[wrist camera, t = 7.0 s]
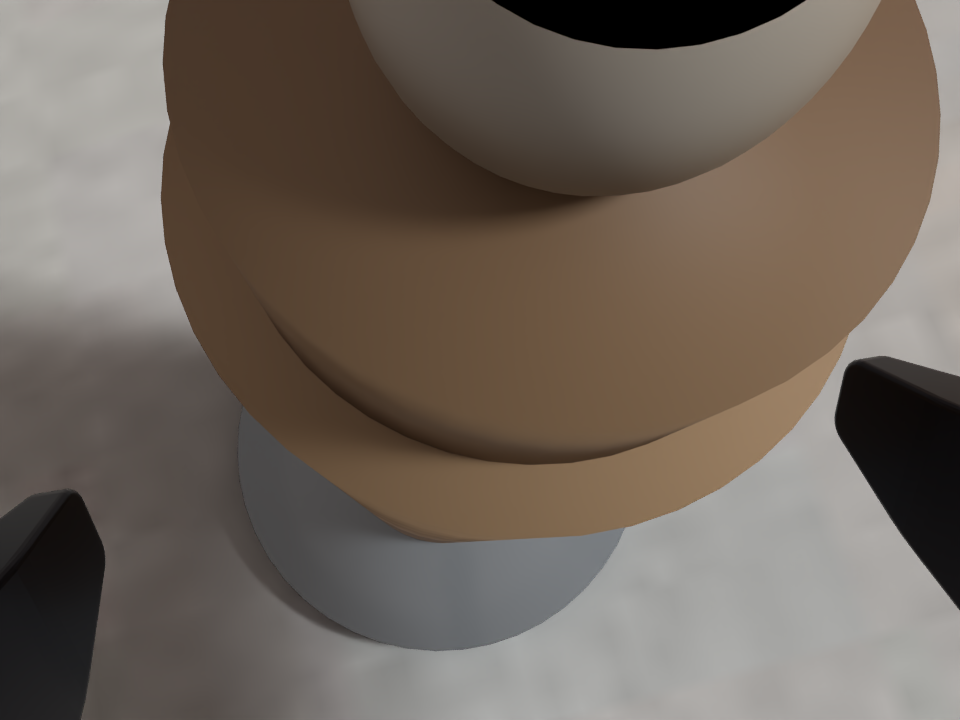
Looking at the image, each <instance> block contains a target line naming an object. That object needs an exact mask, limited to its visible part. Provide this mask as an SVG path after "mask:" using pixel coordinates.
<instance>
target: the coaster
mask: <svg viewBox="0 0 960 720" xmlns="http://www.w3.org/2000/svg"><path fill="white" fill-rule="evenodd" d="M237 454H238V466H239V477H240V484H241V488H242V493H243V497H244V502H245V506H246V509H247V512H248V515H249V517H250V520H251V523H252V525H253V528H254V531H255V533H256V535H257V537H258V539H259V541H260V542H261V544H262V546H263V548H264V550H265V552H266V553H267V555H268V557H269V559H270V560H271V561H272V563H273V564H274V565H275V567H276V568H277V569H278V571H279V572H280V574H281V575H282V576H283V578H284V579H285V580H286V581H287V582H288V583H289V584H290V585H291V586H292V587H293V588H294V589H295V590H296V591H297V592H298V594H299V595H300V596H301V597H302V598H303V599H304V600H305V601H307V602H308V603H309V604H311V605H312V606H313V607H315V608H316V609H317V610H318V611H320V612H321V613H322V614H324V615H325V616H326V617H328V618H329V619H331V620H333V621H335V622H336V623H338V624H340V625H342V626H344V627H345V628H347V629H349V630H351V631H352V632H355V633H358V634H360V635H363V636H365V637H368V638H370V639H373V640H376V641H378V642H382V643H386V644H390V645H395V646H399V647H403V648H408V649H419V650H430V651H444V650H463V649H469V648H474V647H479V646H484V645H489V644H493V643H496V642H499V641H502V640H505V639H508V638H511V637H514V636H517V635H519V634H521V633H523V632H525V631H527V630H529V629H531V628H533V627H535V626H537V625H539V624H541V623H543V622H544V621H545V620H547V619H548V618H550V617H551V616H553V615H554V614H556V613H557V612H559V611H560V610H561V609H563V608H564V607H566V606H567V605H568V604H569V603H570V602H571V601H572V600H573V599H574V598H575V597H577V596H578V595H579V594H580V593H581V592H582V591H583V590H584V589H585V588H586V587H587V586H588V585H589V584H590V582H591V581H592V580H593V579H594V578H595V576H596V575H597V574H598V573H599V572H600V570H601V569H602V568H603V566H604V565H605V563H606V562H607V560H608V558H609V557H610V555H611V554H612V552H613V551H614V549H615V547H616V546H617V544H618V542H619V539H620V537H621V535H622V533H623V531H624V529H625V527H624V528H619V529H614V530H609V531H604V532H599V533H593V534H588V535H583V536H568V537H550V538H531V539H513V540H494V541H475V542H456V543H436V542H428V541H423V540H419V539H415V538H413V537H410V536H407V535H405V534H403V533H401V532H399V531H397V530H395V529H393V528H392V527H390V526H389V525H388V524H386V523H385V522H383V521H382V520H381V519H379V518H378V517H377V516H375V515H374V514H373V513H371V512H370V511H369V510H367V509H366V508H365V507H363V506H362V505H361V504H359V503H358V502H357V501H355V500H354V499H353V498H351V497H350V496H349V495H347V494H346V493H345V492H343V491H342V490H341V489H339V488H338V487H336V486H335V485H334V484H332V483H331V482H330V481H328V480H327V479H326V478H324V477H323V476H322V475H320V474H319V473H318V472H316V471H315V470H314V469H312V468H311V467H310V466H308V465H307V464H306V463H304V462H303V461H302V460H300V459H299V458H298V457H296V456H295V455H294V454H292V453H291V452H290V451H288V450H287V449H286V448H285V447H284V446H283V445H282V444H281V443H280V442H279V441H278V440H276V439H275V438H274V437H273V436H272V435H271V434H270V433H269V432H268V431H267V430H266V429H265V428H264V427H263V426H262V425H261V424H260V423H259V422H258V421H256V420H255V419H254V418H253V417H252V416H251V415H250V414H249V413H248V411H247V410H246V409H245V408H244V406H243V407H242V412H241V418H240V423H239V433H238V453H237Z"/></svg>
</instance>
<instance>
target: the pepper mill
mask: <svg viewBox="0 0 960 720" xmlns="http://www.w3.org/2000/svg"><path fill="white" fill-rule="evenodd" d="M163 71H164V81H165V92H166V103H167V112H168V116H169V120H170V126H169V131H168V136H167V141H166V145H165V150H164V156H163V172H162V189H161V204H162V216H163V227H164V238H165V245H166V250H167V254H168V258H169V262H170V266H171V270H172V274H173V279H174V283H175V287H176V290H177V292H178V295H179V297H180V300H181V302H182V305H183V307H184V310H185V312H186V315H187V317H188V320H189V322H190V324H191V327H192V329H193V332H194V334H195V335H196V337H197V339H198V341H199V342H200V344H201V346H202V347H203V349H204V351H205V353H206V354H207V356H208V358H209V359H210V361H211V363H212V365H213V366H214V368H215V370H216V371H217V373H218V375H219V376H220V377H221V379H222V380H223V381H224V382H225V384H226V385H227V386H228V387H229V389H230V390H231V391H232V392H233V394H234V395H235V396H236V397H237V399H238V400H239V401H240V402H241V404H242V405H243V406H244V408H245V409H246V410H247V411H248V413H249V414H250V415H251V416H252V417H253V418H254V419H255V420H256V421H258V422H259V423H260V424H261V425H262V426H263V427H264V428H265V429H266V430H267V431H268V432H269V433H270V434H271V435H272V436H273V437H274V438H275V439H276V440H278V441H279V442H280V443H281V444H282V445H283V446H284V447H285V448H286V449H287V450H288V451H290V452H291V453H292V454H294V455H295V456H296V457H298V458H299V459H300V460H302V461H303V462H304V463H306V464H307V465H308V466H310V467H311V468H312V469H314V470H315V471H316V472H318V473H319V474H320V475H322V476H323V477H324V478H326V479H327V480H328V481H330V482H331V483H332V484H334V485H335V486H336V487H338V488H339V489H341V490H342V491H343V492H345V493H346V494H347V495H349V496H350V497H351V498H353V499H354V500H355V501H357V502H358V503H359V504H361V505H362V506H363V507H365V508H366V509H367V510H369V511H370V512H371V513H373V514H374V515H375V516H377V517H378V518H379V519H381V520H382V521H383V522H385V523H386V524H388V525H389V526H390V527H392V528H393V529H395V530H397V531H399V532H401V533H403V534H405V535H407V536H410V537H413V538H415V539H419V540H423V541H428V542H436V543H456V542H475V541H494V540H513V539H531V538H550V537H568V536H583V535H588V534H593V533H599V532H604V531H609V530H614V529H619V528H624V527H629V526H633V525H636V524H639V523H642V522H645V521H648V520H651V519H654V518H656V517H659V516H662V515H665V514H668V513H671V512H674V511H677V510H679V509H681V508H683V507H685V506H687V505H689V504H691V503H693V502H695V501H697V500H699V499H701V498H703V497H705V496H706V495H708V494H710V493H712V492H714V491H716V490H718V489H720V488H722V487H723V486H725V485H726V484H727V483H729V482H730V481H732V480H733V479H734V478H736V477H737V476H739V475H740V474H741V473H743V472H744V471H746V470H747V469H748V468H750V467H751V466H753V465H754V464H755V463H757V462H758V461H760V460H761V459H762V458H763V457H764V456H765V455H766V454H767V453H768V452H769V451H770V450H771V449H772V448H773V447H774V446H775V445H776V444H777V443H778V442H779V441H780V440H781V439H782V438H783V437H785V436H786V435H787V434H788V433H789V432H790V431H791V430H792V429H793V427H794V426H795V425H796V424H797V422H798V421H799V420H800V418H801V417H802V416H803V414H804V413H805V412H806V411H807V409H808V408H809V407H810V405H811V404H812V403H813V401H814V400H815V399H816V398H817V396H818V395H819V394H820V392H821V390H822V388H823V386H824V385H825V383H826V381H827V379H828V377H829V376H830V374H831V372H832V370H833V369H834V367H835V365H836V363H837V361H838V360H839V358H840V356H841V353H842V351H843V348H844V345H845V343H846V340H847V337H848V335H849V333H850V332H851V331H852V330H853V329H854V328H855V327H856V326H857V325H858V324H859V323H861V322H862V321H863V320H864V319H865V317H866V316H867V315H868V313H869V312H870V311H871V310H872V308H873V307H874V306H875V304H876V303H877V302H878V301H879V299H880V298H881V297H882V295H883V294H884V293H885V292H886V290H887V289H888V288H889V286H890V285H891V284H892V283H893V281H894V279H895V277H896V275H897V274H898V272H899V270H900V268H901V266H902V265H903V263H904V261H905V259H906V257H907V256H908V254H909V252H910V250H911V248H912V246H913V245H914V243H915V240H916V238H917V235H918V232H919V229H920V227H921V224H922V221H923V218H924V216H925V213H926V210H927V207H928V205H929V202H930V198H931V193H932V188H933V183H934V178H935V173H936V168H937V162H938V157H939V135H940V105H939V94H938V84H937V74H936V68H935V64H934V60H933V56H932V51H931V47H930V43H929V39H928V35H927V30H926V28H925V25H924V22H923V20H922V17H921V14H920V12H919V9H918V7H917V4H916V1H915V0H169V4H168V9H167V13H166V20H165V36H164V51H163Z"/></svg>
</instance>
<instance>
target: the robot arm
mask: <svg viewBox="0 0 960 720" xmlns="http://www.w3.org/2000/svg"><path fill="white" fill-rule="evenodd" d="M835 426H836V430H837V433H838V435H839V437H840V439H841V440H842V442H843V444H844V445H845V447H846V448H847V450H848V452H849V453H850V455H851V456H852V458H853V459H854V461H855V463H856V464H857V466H858V467H859V469H860V471H861V472H862V474H863V475H864V477H865V479H866V480H867V482H868V483H869V485H870V486H871V488H872V490H873V491H874V493H875V494H876V496H877V498H878V499H879V501H880V502H881V504H882V506H883V507H884V509H885V510H886V512H887V513H888V515H889V517H890V518H891V520H892V521H893V523H894V524H895V526H896V527H897V529H898V530H899V532H900V533H901V535H902V536H903V537H904V539H905V540H906V541H907V543H908V544H909V546H910V547H911V548H912V550H913V551H914V552H915V554H916V555H917V556H918V557H919V559H920V560H921V561H922V563H923V564H924V565H925V566H926V568H927V569H928V570H929V572H930V573H931V574H932V575H933V577H934V578H935V579H936V581H937V582H938V583H939V584H940V586H941V587H942V588H943V590H944V591H945V592H946V593H947V595H948V596H949V597H950V599H951V600H952V601H953V602H954V604H955V605H956V606H957V608H958V609H959V610H960V377H959V376H956V375H952V374H948V373H945V372H941V371H938V370H934V369H931V368H927V367H923V366H920V365H916V364H913V363H909V362H906V361H902V360H898V359H895V358H891V357H887V356H877V357H871V358H865V359H859V360H854V361H853V362H851V363H850V364H849V365H848V366H847V368H846V369H845V372H844V376H843V380H842V385H841V389H840V394H839V398H838V403H837V407H836V412H835ZM104 571H105V552H104V547H103V544H102V541H101V539H100V537H99V535H98V532H97V530H96V528H95V526H94V523H93V521H92V519H91V517H90V514H89V512H88V510H87V508H86V506H85V503H84V501H83V499H82V497H81V496H80V495H79V494H78V492H76V491H74V490H72V489H63V490H57V491H51V492H45V493H39V494H34V495H32V496H30V497H28V498H27V499H25V500H24V501H23V502H22V503H20V504H19V505H18V506H16V507H15V508H14V509H12V510H11V511H10V512H8V513H7V514H6V515H4V516H3V517H2V518H0V720H81V716H82V712H83V707H84V703H85V699H86V693H87V688H88V682H89V676H90V669H91V662H92V655H93V648H94V641H95V634H96V627H97V620H98V613H99V606H100V599H101V592H102V585H103V578H104Z"/></svg>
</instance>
